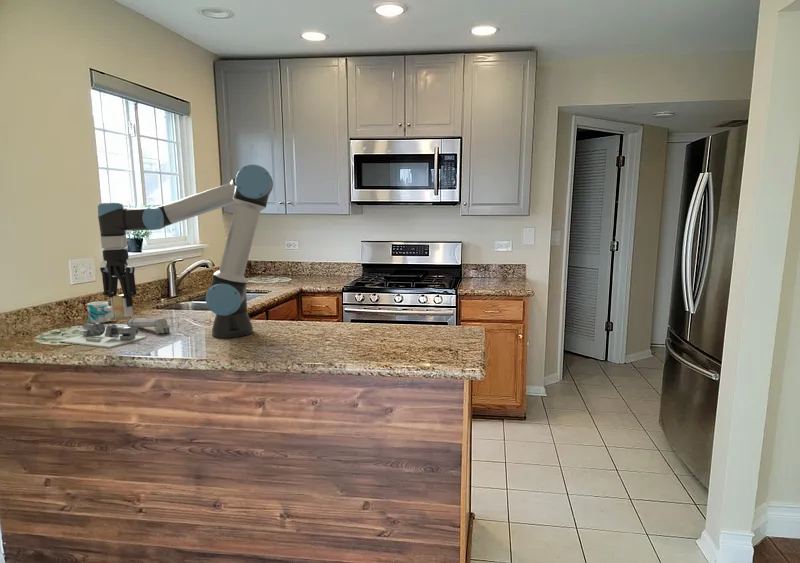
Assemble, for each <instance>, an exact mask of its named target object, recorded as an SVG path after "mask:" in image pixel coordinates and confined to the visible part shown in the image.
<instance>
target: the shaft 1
mask: <svg viewBox="0 0 800 563" xmlns="http://www.w3.org/2000/svg"><path fill="white" fill-rule="evenodd" d="M82 329H83V330H84V331H82V335H83V336H86V337H88V336H94V335H95V336H100V335H102V334H103V333H104V332H105V333H106V327H105V325H104V324H103V323H89V322H85V323H84V324H82Z"/></svg>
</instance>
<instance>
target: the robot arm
mask: <svg viewBox="0 0 800 563" xmlns="http://www.w3.org/2000/svg"><path fill="white" fill-rule="evenodd" d="M273 186H274V182H273V178H272V176H271V174H270V172H269V171H268V170H267V169H266V168H265V167H263V166H261V165H258V164H247V165H244V166H242V167H241V168H240V169H239V170H238V172H237V173H236V176H235V177H234V178H232V179H231V181H230V182H228V183H224V184H222V185H220V186H217V187H213V188H210V189H207V190H205V191H202V192H198V193H195V194H193V195H189V196H186V197H184V198H180V199H177V200H175V201H174V200H173V201H170V202H168V203H165V204H162V205H159V206H156V207H136V208H135V207H134V208H125V207H124V205H123V203H121V202H101V203H99V204H98V205H97V218H98V225H99V231H100V232H99V233H100V242H101V243H100V244H101V249H103V250H102V260H103V261H104V262H106V265H104V266H101V267H100V268H99V270H100V272H101V276H102V279H101V280H102V286H103V294H104V296H107V297H108V298H109V304H110V306H111V308H112V316H115V313H114V309H113V306H114V305H113V296H114V295H119V294H118V284H120V285H119V286H120V287H121V291H122V294H124V297H122V299H123V308H124V316H125V317H128V316H131V317H132V316H134V312H133V305H134V304H133V297H134V296H137V286H136V278H135V268H136V267H135V266H129V264H128V261H127V260H129V259H130V258H129V251H128V248H127V247H128V243H127V242H128V240H127V231H128V232H129V231H157V230H162V229H164V228H165V227H168V226H171V225H174V224H177V223H180V222H182V221H186V220H189V219H191V218H195V217H197V216H200V215H203V214H207V213H210V212H213V211H215V210H218V209H222V208H225V207H227V206H230V205H233V204H234V205H235V206H234V209H233V210H234V211H233V214H232V217H231V221H230V226H229V229H228V234H227V238H226V241H225V246H224V250H223V253H222V258H221V262H220V266H219V269H218V270H217V271H215V272H214V273H213V275H212V277H211V282H210V286H209V288H208V290H207V292H206V294H205V303H206V306H207V308H208V309H209V310H210V312H212V313H213V314H215V317H214V320H213V325H212V328H211V336H212V337H214V338H217V339H218V338H220V339H232V338H231V337H234V338H240V337H239V336H241V337H245V336H244V335H246V336H248V335H247V334H249V335H251V334H253V333H254V327H253V324H252V322H251V321H252V320H251V318H250V316H249V314H248V302H247V299H248V298H247V282H248V280H247V279H246V276H245V272H246V268H247V265H248V260H249V256H250V253H251V249H252V245H253V241H254V236H255V234H256V233H255V232H256V230H257V225H258V222H259V218H260V214H261V212H262V211H263V210H265V209H266V208H267V204H268V201H269V198H270V197H269V196H270V195H271V193H272V190H273V188H274V187H273ZM118 281H119V282H118ZM252 332H253V333H252ZM250 333H251V334H250Z"/></svg>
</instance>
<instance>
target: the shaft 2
mask: <svg viewBox="0 0 800 563" xmlns="http://www.w3.org/2000/svg"><path fill="white" fill-rule="evenodd" d="M105 333H106V335H107V336H108V337H115V336H116V335H122V336H120V340H123V341H128V340H131V339H133V338H135V336H138V334H139V328H137V327H128V326H126V327H125V326H124V327H123V326H122V327H121V326H120V327H119V326H117V325H116V324H115V323H114V324H112V323H111V324H108V325H107V326H106V327H105Z"/></svg>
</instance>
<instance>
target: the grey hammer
mask: <svg viewBox="0 0 800 563" xmlns="http://www.w3.org/2000/svg"><path fill="white" fill-rule="evenodd" d="M126 323H127V324H126V325H127V326H126V327H137V328H138V329H139V328H140V329H141V328H153V329H154V330H155V334H156V335H159V334H160V335H161V334H166V333H170V327H171V325H170V324H168V321H167V319H166V317H161V318H139V317H133V318H128V319H127V321H126Z"/></svg>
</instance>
